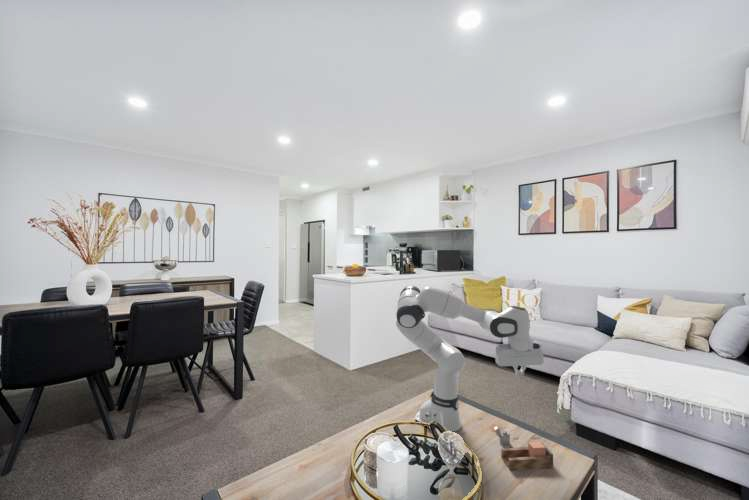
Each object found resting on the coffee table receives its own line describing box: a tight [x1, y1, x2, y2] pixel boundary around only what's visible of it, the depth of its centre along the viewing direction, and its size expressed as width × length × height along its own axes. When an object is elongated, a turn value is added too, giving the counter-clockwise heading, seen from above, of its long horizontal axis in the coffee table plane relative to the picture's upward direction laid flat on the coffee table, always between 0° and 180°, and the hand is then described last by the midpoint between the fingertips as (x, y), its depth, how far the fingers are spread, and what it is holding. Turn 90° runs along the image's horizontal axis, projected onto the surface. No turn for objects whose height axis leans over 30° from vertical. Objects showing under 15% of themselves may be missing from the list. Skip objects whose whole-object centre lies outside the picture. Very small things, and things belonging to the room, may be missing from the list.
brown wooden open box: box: [500, 442, 554, 472], centre depth 121 cm, size 17×7×5 cm, turn 93°
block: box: [527, 441, 547, 457], centre depth 121 cm, size 5×3×6 cm
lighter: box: [493, 425, 511, 446], centre depth 133 cm, size 7×2×8 cm, turn 107°
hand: (519, 374), depth 134 cm, fingers closed
